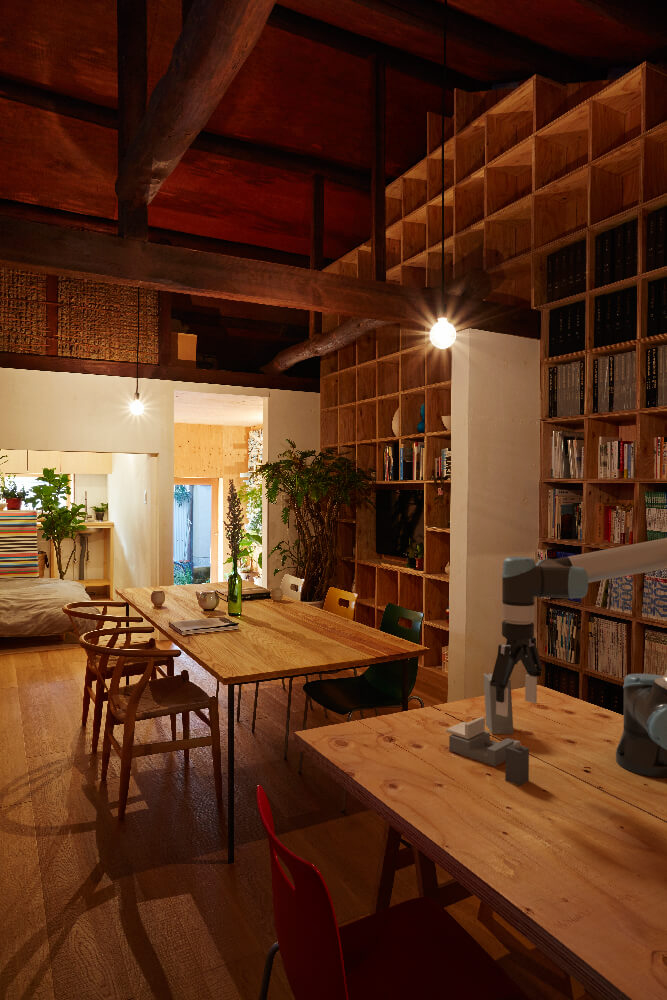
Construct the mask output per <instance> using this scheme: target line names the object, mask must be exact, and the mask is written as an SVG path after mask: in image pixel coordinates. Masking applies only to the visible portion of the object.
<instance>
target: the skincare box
mask: <svg viewBox="0 0 667 1000" xmlns="http://www.w3.org/2000/svg"><path fill="white" fill-rule="evenodd" d="M492 675H493V672H492V673H483V688H484V689H483V690H484V707H485V711H484V712H485V724H486V725H485V726H486V727H487V728H488V729H489V732H490V734H494V735H498V734H499V735H501V734H502V735H506V734H507V735H513V734H514V718H513V698H512V682H511V681H512V680H511V679H510V678H509V681H508V684H507V686H506V688H508V716H507V717H505V716H502V715H498V714H496V687H494V686H491V685H490V682H491V678H492Z"/></svg>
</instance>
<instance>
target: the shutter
mask: <svg viewBox="0 0 667 1000" xmlns="http://www.w3.org/2000/svg"><path fill="white" fill-rule="evenodd" d="M485 724H486V716H480V717H478V718H475V719H473V720H471V721H469V722H465V721H462V722H460V723H457V724H454V725H453V726H452V725H451V726H450V727H447V728H446V729H445V732H446V733H449V734H450V735H452V734H454V735H457V736H460V737H463V738H466V739H470V738H472V737H474V736H476V735H478V734H480V733H482V732H484V731H486V730H485V728H486V727H485V726H486V725H485Z"/></svg>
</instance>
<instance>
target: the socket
mask: <svg viewBox="0 0 667 1000" xmlns="http://www.w3.org/2000/svg"><path fill="white" fill-rule="evenodd" d="M490 734H491V731H487V730H485V731H484V732H482V733H480V734H478V735H476V736H474V737H472V738H470V739H466V738H463V737H460V736H457V735H454V734H450V735H449V737H448V740H449V741H448V742H449V743H448V745H449V747H448V748H449V749H448V751H450V752H452V753H456V754H458V755H461V756H463V757H467V758H470V759H473V760H475V761H478V762H481V763H484V764H487V765H488V766H493V767H498V765H500V764H501V763H504V762H505V759H506V747H508V746H510V745H512V744H514V741H516V740H515V739H513V738H509V737H507V738H504V739H502V740H501V741H499V742H498V741H495V740H492V739H491V737H490V736H491V735H490Z"/></svg>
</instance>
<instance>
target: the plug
mask: <svg viewBox="0 0 667 1000" xmlns="http://www.w3.org/2000/svg"><path fill="white" fill-rule="evenodd" d="M504 762H505V767H504V768H505V773H504V774H505V782H509V783H510V784H514V785H517V786H519V787H521V786H523V785H524V784H526V783H527V782H529V777H530V771H529V770H530V764H529V763H530V747H527V746H523V745H522V743H521V741H520V740H515V741H514V744H512V745H510V746H508V747H506V759H505V761H504Z"/></svg>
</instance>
